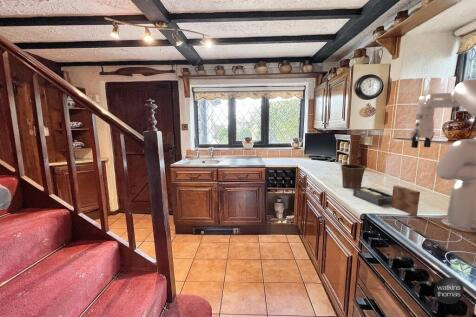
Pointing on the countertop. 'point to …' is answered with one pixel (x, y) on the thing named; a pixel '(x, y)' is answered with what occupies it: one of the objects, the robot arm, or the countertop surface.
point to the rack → (373, 197)
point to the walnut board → (405, 200)
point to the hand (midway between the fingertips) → (420, 147)
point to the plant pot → (352, 175)
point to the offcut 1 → (365, 191)
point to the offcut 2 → (375, 194)
